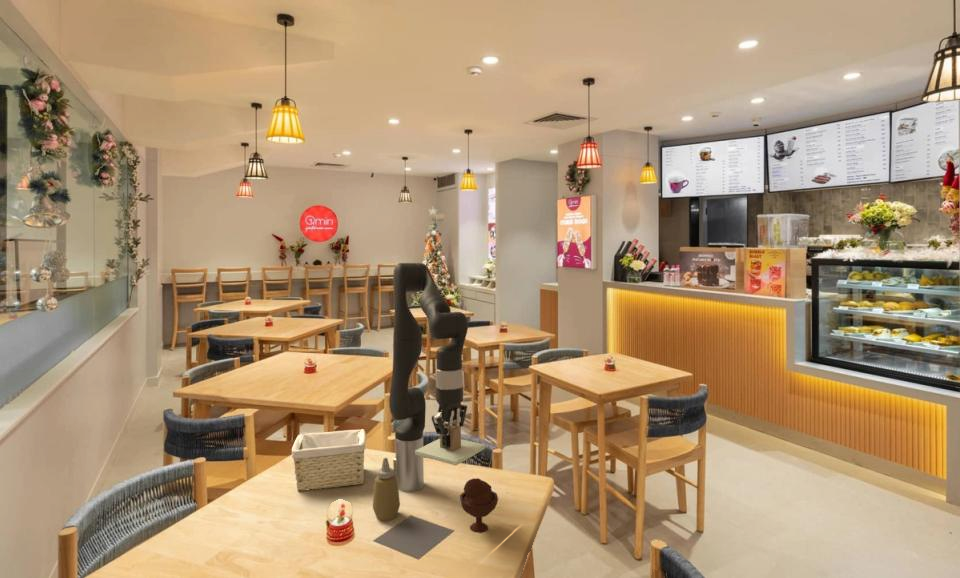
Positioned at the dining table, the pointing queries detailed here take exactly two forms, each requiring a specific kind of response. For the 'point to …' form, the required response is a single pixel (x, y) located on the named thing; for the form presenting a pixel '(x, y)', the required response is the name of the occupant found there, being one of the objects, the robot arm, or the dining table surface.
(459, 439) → the cover
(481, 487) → the ice cream bowl
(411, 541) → the mat
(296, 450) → the storage basket
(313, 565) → the dining table surface
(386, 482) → the squeeze bottle
